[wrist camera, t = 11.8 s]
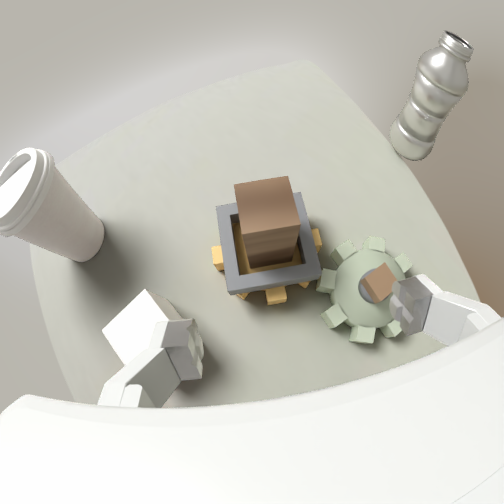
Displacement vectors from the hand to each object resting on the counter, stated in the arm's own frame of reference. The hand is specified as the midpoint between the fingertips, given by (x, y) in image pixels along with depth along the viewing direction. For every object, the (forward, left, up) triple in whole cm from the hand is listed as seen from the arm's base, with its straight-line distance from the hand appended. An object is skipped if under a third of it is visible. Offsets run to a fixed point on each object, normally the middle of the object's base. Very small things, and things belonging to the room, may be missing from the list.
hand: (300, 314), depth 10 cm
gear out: (+8, -2, -17) cm, 19 cm away
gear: (0, -10, -17) cm, 20 cm away
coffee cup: (+19, +19, -17) cm, 32 cm away
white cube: (+3, +12, -17) cm, 21 cm away
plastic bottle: (+15, -27, -17) cm, 35 cm away
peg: (+8, -2, -15) cm, 17 cm away
